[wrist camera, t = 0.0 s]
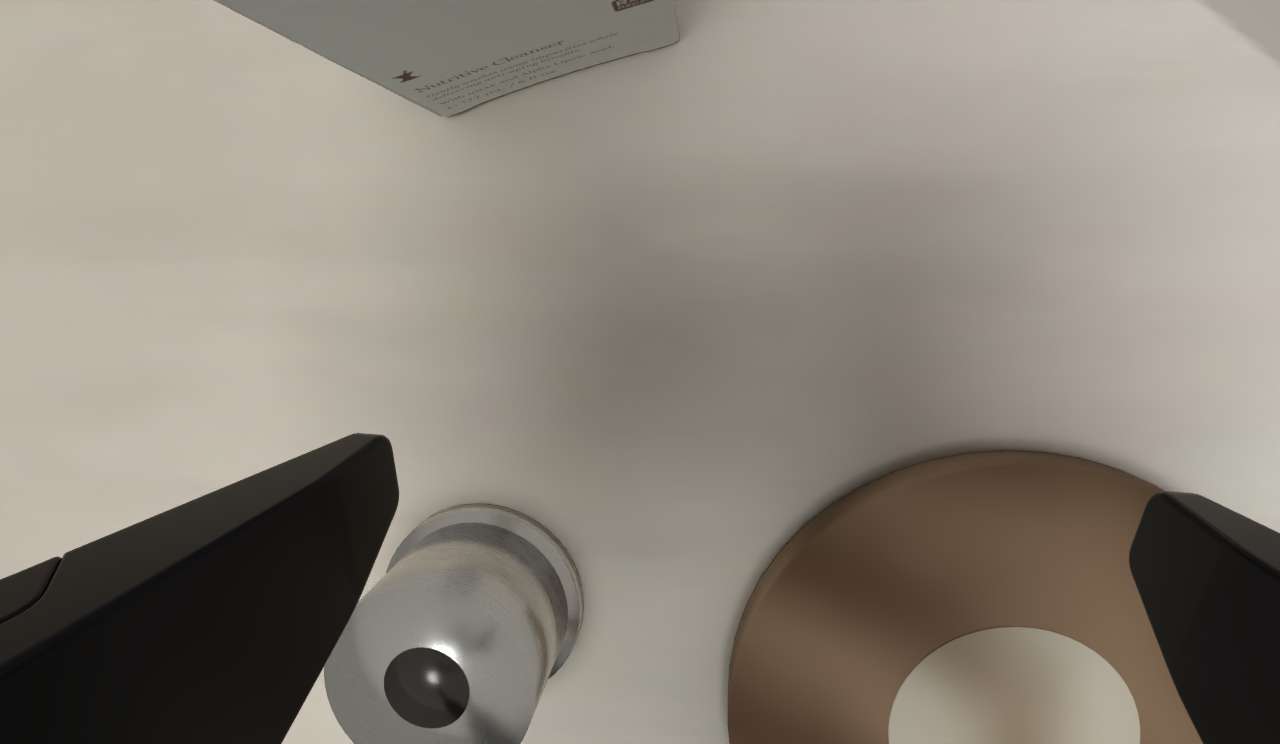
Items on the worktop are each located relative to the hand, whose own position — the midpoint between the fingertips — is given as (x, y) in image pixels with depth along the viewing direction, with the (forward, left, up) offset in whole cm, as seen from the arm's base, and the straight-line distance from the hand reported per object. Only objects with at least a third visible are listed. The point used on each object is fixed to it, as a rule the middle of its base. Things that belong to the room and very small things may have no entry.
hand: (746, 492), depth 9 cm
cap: (-13, 0, -16) cm, 21 cm away
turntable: (-3, -15, -15) cm, 22 cm away
